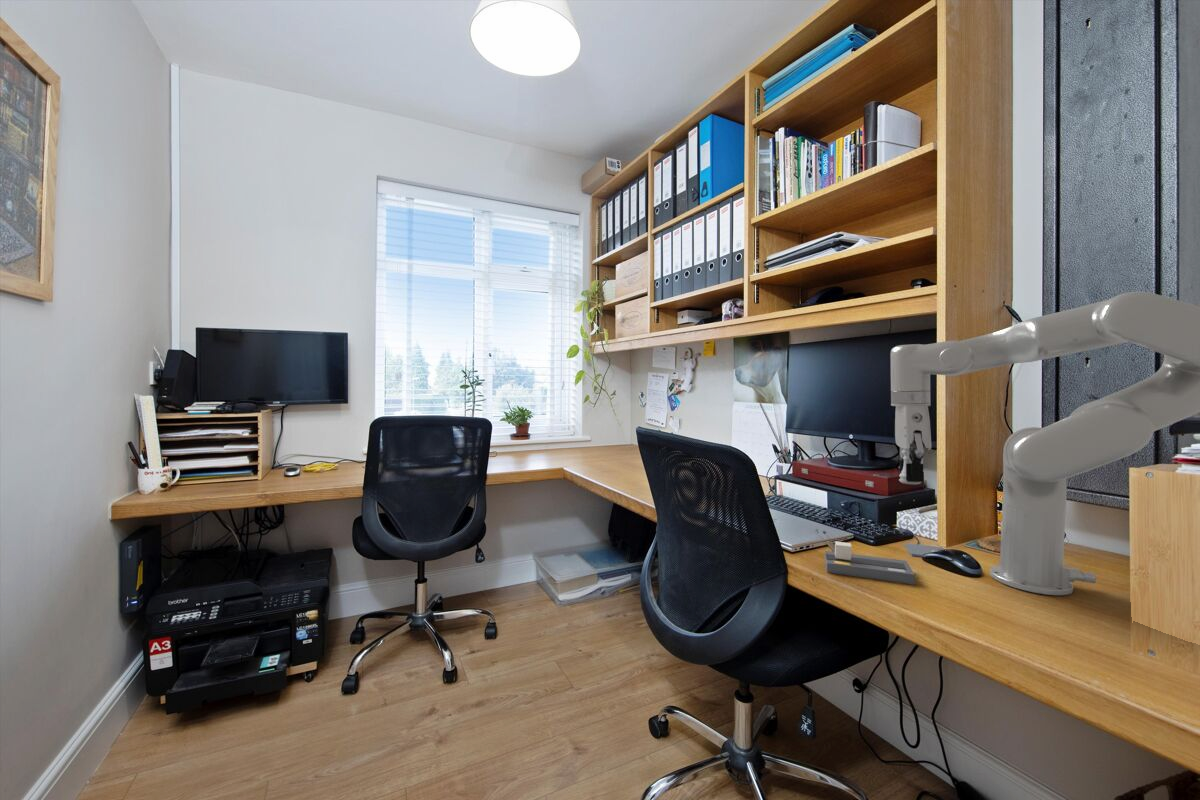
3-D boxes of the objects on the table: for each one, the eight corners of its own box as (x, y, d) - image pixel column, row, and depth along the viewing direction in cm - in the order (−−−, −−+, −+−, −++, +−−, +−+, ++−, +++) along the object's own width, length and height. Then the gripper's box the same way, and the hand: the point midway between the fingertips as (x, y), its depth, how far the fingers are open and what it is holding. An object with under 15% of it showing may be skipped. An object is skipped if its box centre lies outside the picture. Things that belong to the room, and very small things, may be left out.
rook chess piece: (901, 480, 112) (901, 446, 112) (924, 482, 109) (923, 447, 109) (896, 483, 109) (895, 448, 109) (919, 485, 106) (919, 449, 106)
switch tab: (849, 556, 105) (850, 543, 105) (851, 560, 103) (851, 546, 103) (834, 554, 107) (835, 541, 106) (835, 558, 104) (836, 544, 104)
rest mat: (942, 549, 117) (942, 547, 117) (952, 560, 109) (952, 558, 109) (904, 544, 120) (904, 542, 120) (911, 555, 112) (911, 553, 112)
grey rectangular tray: (905, 569, 104) (906, 560, 104) (914, 584, 97) (914, 574, 96) (824, 559, 110) (824, 550, 110) (826, 572, 103) (827, 562, 102)
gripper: (943, 400, 100) (944, 487, 100) (917, 397, 116) (918, 473, 116) (901, 400, 102) (902, 486, 102) (882, 398, 118) (883, 472, 118)
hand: (911, 478), depth 109 cm, fingers closed on rook chess piece, 4 cm apart
